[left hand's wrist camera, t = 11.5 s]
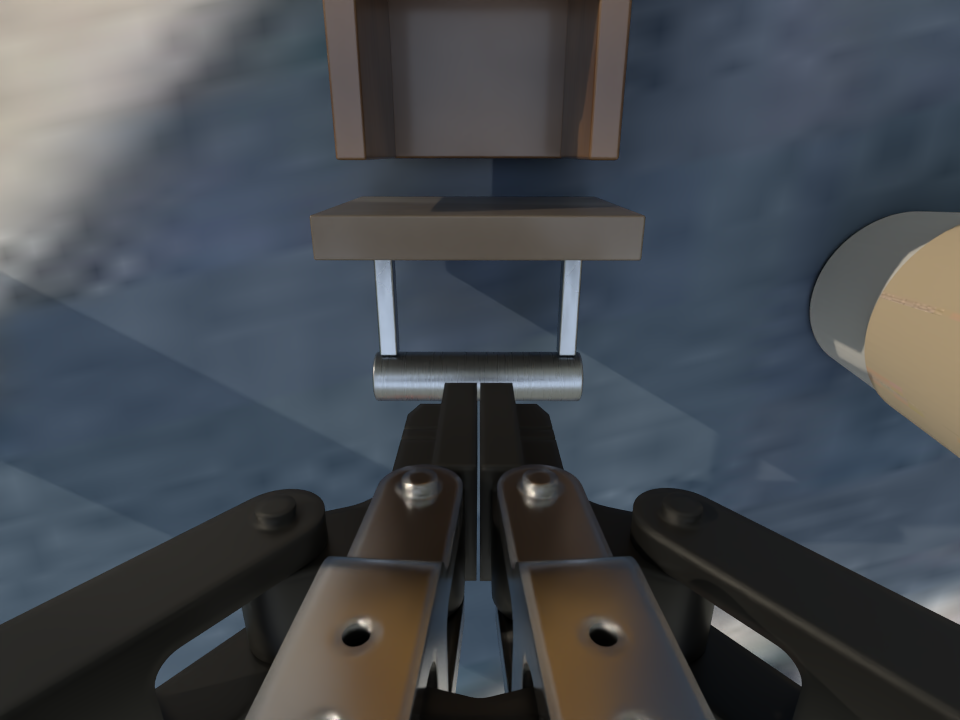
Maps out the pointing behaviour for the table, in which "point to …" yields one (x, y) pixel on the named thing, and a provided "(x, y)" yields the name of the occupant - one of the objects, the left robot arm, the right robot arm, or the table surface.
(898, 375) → the coffee cup
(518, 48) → the drawer
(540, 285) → the table surface
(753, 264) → the table surface
